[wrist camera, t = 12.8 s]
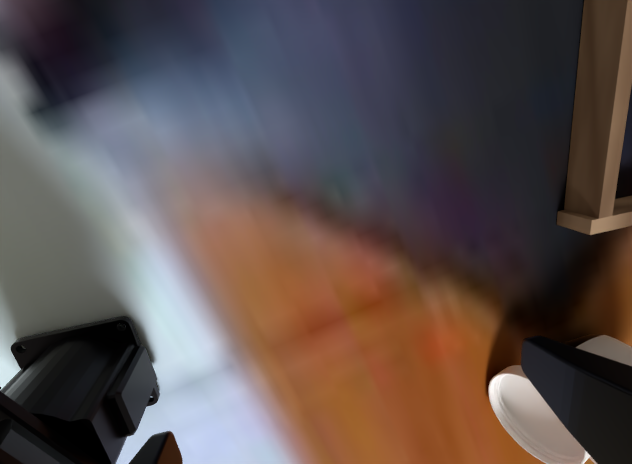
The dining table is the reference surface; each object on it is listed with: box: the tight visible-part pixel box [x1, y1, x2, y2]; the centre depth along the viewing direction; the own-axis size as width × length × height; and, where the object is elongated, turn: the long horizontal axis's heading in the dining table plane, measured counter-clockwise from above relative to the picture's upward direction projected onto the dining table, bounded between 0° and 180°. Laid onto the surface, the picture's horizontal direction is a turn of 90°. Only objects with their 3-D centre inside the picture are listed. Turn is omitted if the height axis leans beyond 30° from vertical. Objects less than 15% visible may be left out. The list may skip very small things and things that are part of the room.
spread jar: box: [488, 334, 632, 464], centre depth 23 cm, size 12×11×12 cm
